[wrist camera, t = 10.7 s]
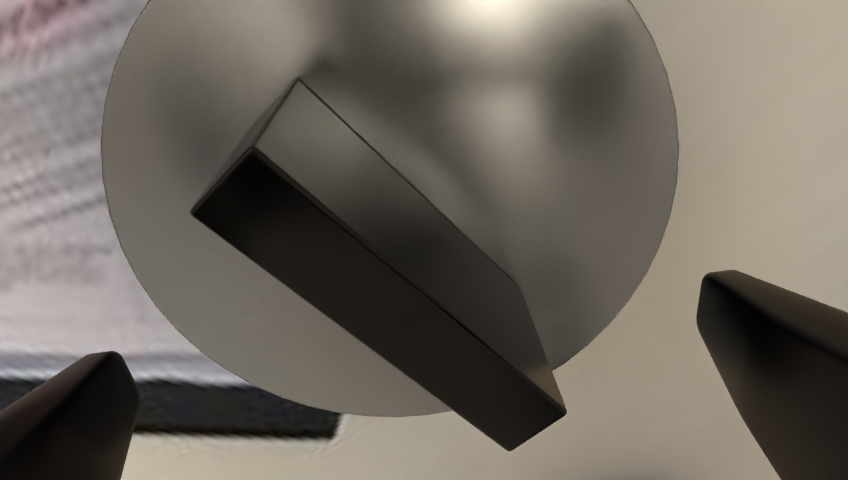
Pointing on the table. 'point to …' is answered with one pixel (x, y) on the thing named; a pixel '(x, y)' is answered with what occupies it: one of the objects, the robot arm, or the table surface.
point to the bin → (392, 192)
